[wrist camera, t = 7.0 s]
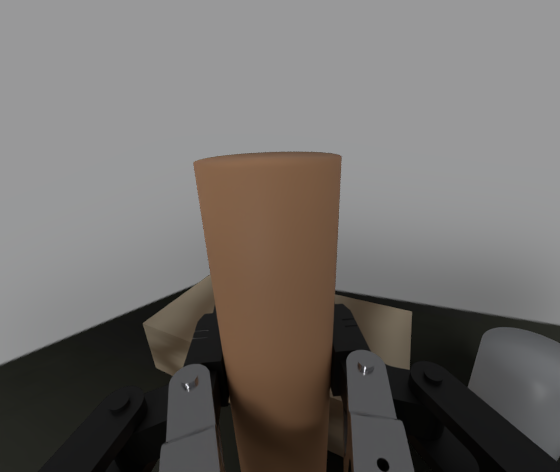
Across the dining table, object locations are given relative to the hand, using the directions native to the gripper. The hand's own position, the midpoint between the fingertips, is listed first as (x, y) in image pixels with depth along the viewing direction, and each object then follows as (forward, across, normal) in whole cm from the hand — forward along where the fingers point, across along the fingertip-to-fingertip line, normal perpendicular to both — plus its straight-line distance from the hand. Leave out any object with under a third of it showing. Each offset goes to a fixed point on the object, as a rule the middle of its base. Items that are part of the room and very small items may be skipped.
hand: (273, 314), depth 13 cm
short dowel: (-2, -12, +11) cm, 17 cm away
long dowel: (-3, 0, +10) cm, 11 cm away
